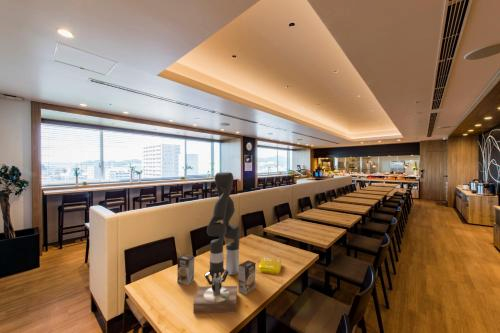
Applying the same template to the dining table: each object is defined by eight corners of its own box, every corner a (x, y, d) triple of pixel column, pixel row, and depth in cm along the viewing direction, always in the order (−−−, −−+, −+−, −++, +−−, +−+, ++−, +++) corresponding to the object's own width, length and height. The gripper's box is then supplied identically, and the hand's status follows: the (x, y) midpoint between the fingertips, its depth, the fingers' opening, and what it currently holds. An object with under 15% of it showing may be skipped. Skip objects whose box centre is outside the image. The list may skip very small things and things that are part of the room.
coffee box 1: (176, 282, 136) (176, 257, 136) (183, 277, 142) (183, 253, 142) (188, 285, 133) (188, 260, 133) (194, 280, 139) (194, 255, 139)
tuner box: (199, 294, 123) (199, 285, 123) (236, 294, 124) (236, 285, 124) (193, 313, 108) (193, 302, 108) (235, 312, 109) (235, 302, 109)
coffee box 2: (245, 295, 123) (246, 268, 123) (237, 291, 127) (238, 265, 127) (255, 288, 130) (255, 262, 130) (247, 284, 134) (247, 259, 134)
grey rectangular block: (212, 290, 119) (212, 278, 119) (219, 289, 120) (219, 277, 120) (214, 301, 109) (214, 288, 109) (222, 300, 110) (222, 287, 110)
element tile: (258, 272, 150) (258, 265, 150) (262, 262, 164) (262, 256, 164) (279, 275, 146) (279, 268, 146) (281, 265, 160) (281, 259, 160)
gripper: (226, 254, 122) (226, 283, 122) (202, 258, 117) (202, 289, 117) (230, 260, 115) (230, 291, 115) (205, 264, 110) (205, 297, 110)
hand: (216, 289), depth 116 cm, fingers closed on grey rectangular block, 2 cm apart
